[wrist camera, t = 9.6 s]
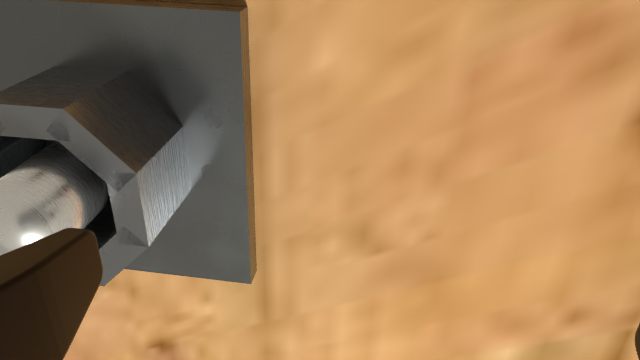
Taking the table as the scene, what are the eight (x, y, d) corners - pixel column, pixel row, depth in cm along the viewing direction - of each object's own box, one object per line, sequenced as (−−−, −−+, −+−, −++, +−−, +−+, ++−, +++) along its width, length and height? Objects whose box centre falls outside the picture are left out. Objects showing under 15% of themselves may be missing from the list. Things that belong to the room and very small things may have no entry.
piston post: (247, 6, 18) (171, 57, 12) (256, 270, 24) (207, 394, 18) (-56, -12, 20) (-263, 25, 13) (21, 242, 25) (-99, 350, 19)
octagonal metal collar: (177, 75, 19) (126, 113, 15) (194, 231, 22) (156, 292, 19) (3, 63, 20) (-83, 97, 16) (45, 216, 23) (-18, 271, 19)
